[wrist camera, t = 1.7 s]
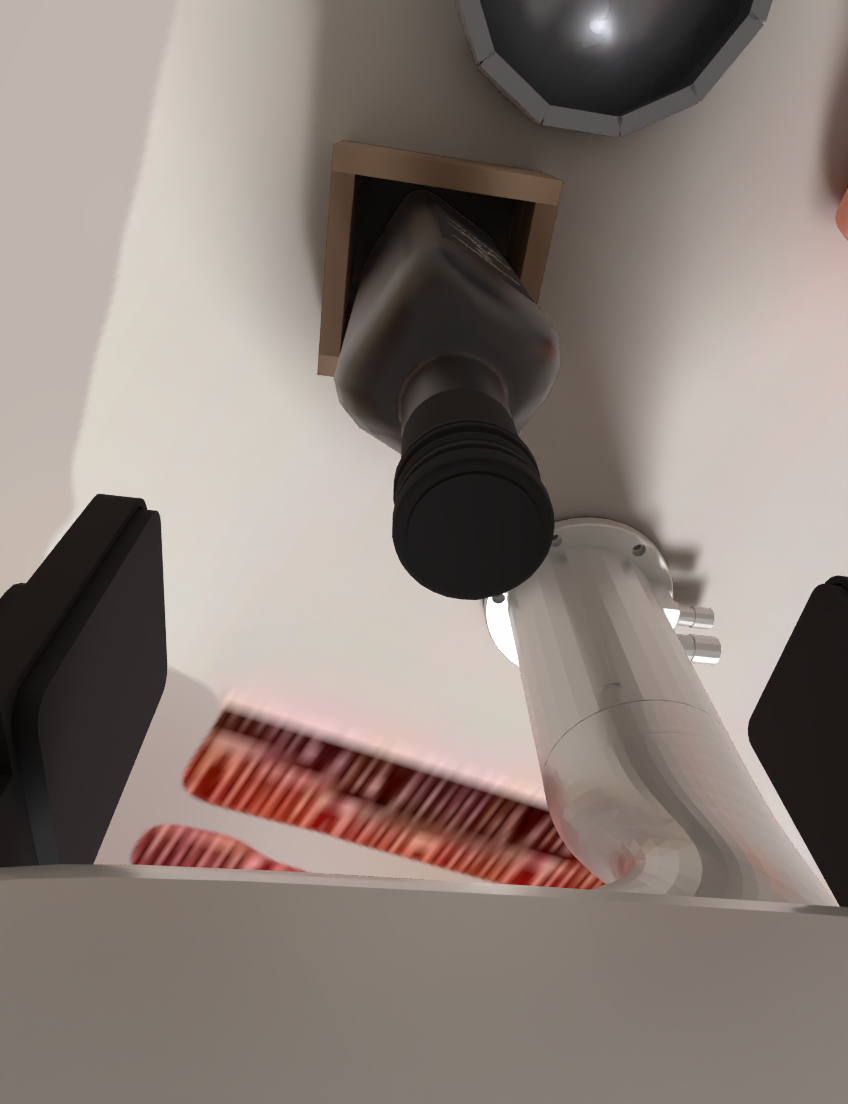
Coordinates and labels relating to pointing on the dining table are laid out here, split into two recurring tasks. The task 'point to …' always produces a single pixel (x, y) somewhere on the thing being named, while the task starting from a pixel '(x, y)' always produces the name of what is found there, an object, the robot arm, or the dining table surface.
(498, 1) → the serving bowl
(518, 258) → the open square wooden box
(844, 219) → the teapot
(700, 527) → the dining table surface
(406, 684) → the dining table surface
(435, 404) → the wine bottle
